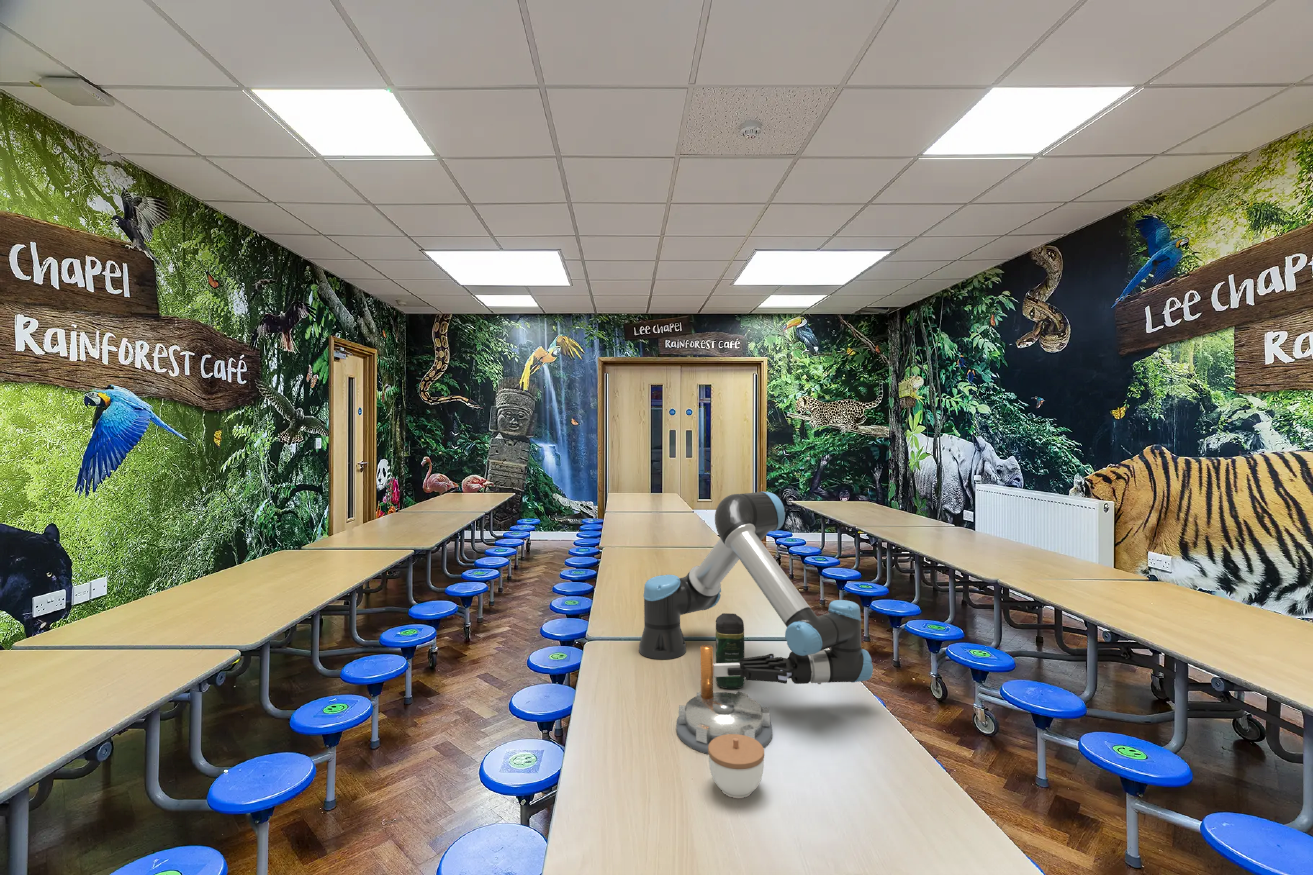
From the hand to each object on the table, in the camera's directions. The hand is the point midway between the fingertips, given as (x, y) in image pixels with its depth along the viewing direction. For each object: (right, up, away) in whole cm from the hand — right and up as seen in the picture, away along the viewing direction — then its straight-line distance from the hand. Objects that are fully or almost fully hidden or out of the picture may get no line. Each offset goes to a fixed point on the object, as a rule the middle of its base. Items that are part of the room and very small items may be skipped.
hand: (713, 670), depth 136 cm
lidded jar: (+1, -11, -29) cm, 31 cm away
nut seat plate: (+2, -11, -7) cm, 13 cm away
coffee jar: (+7, -11, +18) cm, 23 cm away
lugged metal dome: (+2, -9, -7) cm, 12 cm away
